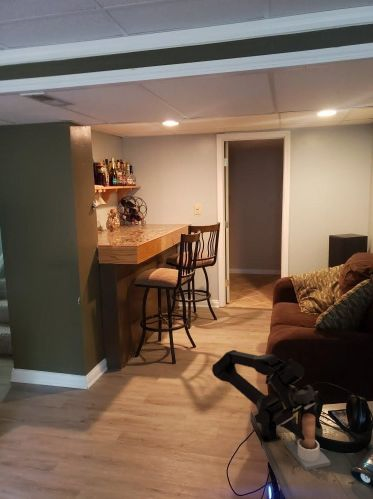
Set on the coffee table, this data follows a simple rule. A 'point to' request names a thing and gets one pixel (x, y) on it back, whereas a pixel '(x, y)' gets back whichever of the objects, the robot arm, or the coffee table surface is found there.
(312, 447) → the post
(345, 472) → the coffee table surface
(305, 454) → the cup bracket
